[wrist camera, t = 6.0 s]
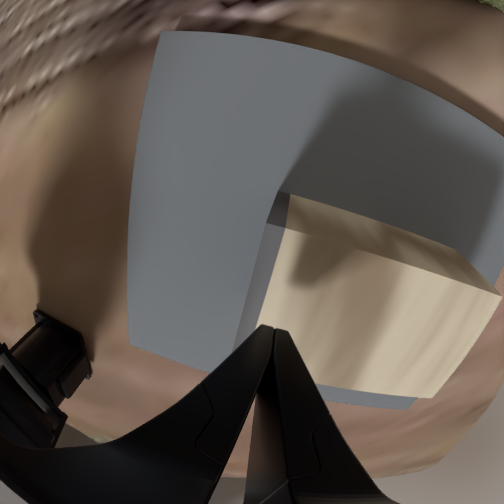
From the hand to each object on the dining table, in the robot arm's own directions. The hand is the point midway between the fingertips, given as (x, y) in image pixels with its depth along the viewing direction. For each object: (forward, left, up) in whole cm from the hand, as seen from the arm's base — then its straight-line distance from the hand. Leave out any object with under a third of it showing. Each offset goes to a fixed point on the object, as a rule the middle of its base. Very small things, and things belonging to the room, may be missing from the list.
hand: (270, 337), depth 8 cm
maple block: (-1, 0, -4) cm, 4 cm away
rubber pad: (+2, 0, -8) cm, 8 cm away
